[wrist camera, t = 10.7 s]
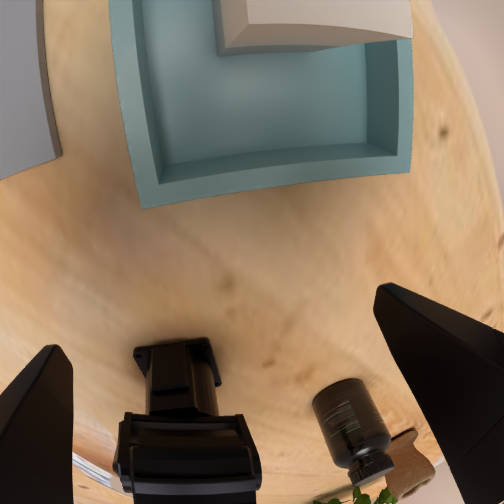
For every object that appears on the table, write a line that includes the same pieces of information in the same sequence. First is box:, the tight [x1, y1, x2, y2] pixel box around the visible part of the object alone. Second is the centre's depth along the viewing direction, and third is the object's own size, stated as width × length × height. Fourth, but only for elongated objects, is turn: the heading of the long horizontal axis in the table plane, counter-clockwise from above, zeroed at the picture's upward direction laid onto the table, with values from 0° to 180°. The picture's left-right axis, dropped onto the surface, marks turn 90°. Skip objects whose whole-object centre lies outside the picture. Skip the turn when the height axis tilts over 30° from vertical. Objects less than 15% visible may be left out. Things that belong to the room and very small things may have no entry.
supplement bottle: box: [313, 379, 395, 486], centre depth 28 cm, size 7×7×12 cm
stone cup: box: [385, 431, 435, 500], centre depth 47 cm, size 15×12×15 cm
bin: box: [109, 0, 413, 210], centre depth 11 cm, size 18×14×4 cm
